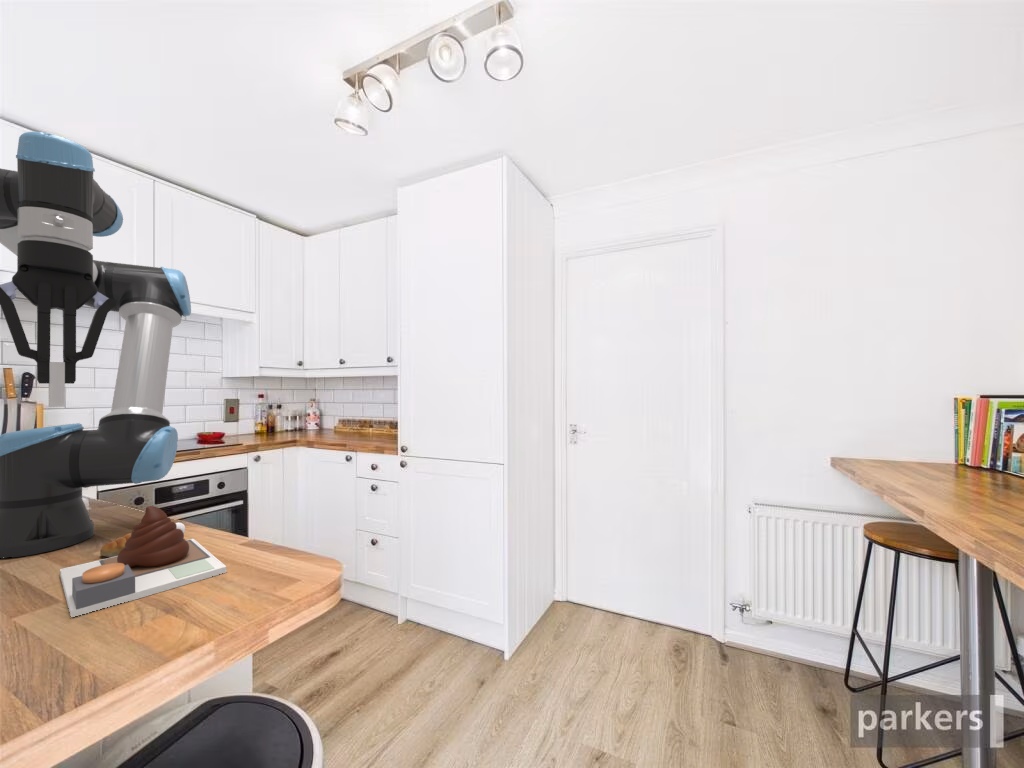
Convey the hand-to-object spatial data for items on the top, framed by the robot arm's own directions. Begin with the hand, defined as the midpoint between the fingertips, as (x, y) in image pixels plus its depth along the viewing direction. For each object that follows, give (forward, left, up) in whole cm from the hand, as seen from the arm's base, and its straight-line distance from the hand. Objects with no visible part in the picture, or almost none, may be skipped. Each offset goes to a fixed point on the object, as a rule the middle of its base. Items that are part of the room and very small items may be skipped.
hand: (56, 406), depth 61 cm
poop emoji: (-10, +6, -28) cm, 30 cm away
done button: (+1, +7, -27) cm, 28 cm away
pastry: (-20, -3, -29) cm, 35 cm away
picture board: (-8, +6, -28) cm, 30 cm away
